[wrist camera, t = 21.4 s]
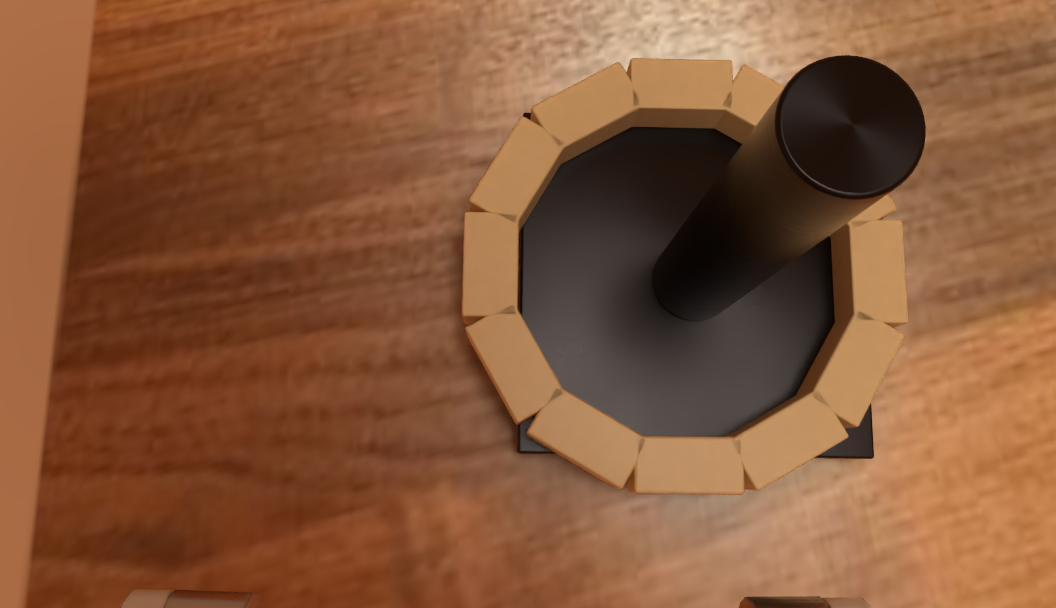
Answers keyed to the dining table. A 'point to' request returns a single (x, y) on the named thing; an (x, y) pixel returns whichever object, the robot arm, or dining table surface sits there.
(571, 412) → the segmented block ring
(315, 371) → the dining table surface
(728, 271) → the hook post
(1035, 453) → the dining table surface
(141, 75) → the dining table surface
